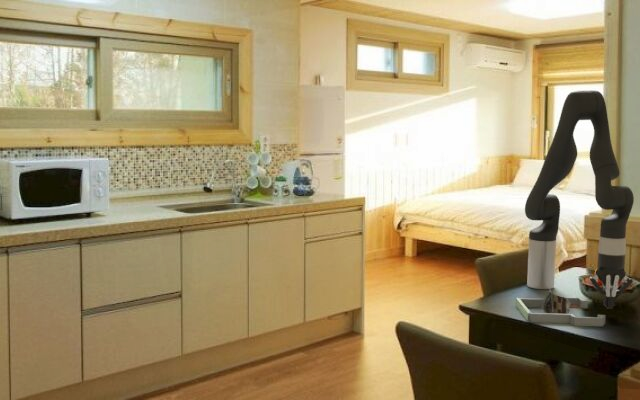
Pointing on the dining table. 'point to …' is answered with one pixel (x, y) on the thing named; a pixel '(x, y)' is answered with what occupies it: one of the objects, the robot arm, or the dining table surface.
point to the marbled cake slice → (555, 304)
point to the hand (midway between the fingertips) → (608, 307)
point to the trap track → (558, 318)
